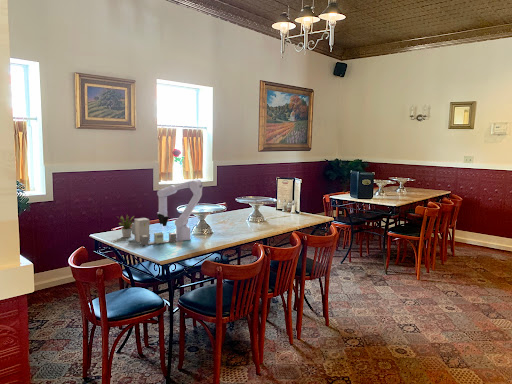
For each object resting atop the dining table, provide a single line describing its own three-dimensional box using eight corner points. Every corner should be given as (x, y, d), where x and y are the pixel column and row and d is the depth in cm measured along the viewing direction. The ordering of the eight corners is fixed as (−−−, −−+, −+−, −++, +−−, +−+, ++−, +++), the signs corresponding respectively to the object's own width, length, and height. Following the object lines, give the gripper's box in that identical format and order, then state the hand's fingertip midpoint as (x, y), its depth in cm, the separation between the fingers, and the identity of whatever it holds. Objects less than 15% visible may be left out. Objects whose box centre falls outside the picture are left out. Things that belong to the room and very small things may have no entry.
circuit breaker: (141, 236, 277) (140, 216, 275) (150, 240, 266) (149, 219, 264) (130, 238, 272) (130, 217, 270) (139, 242, 261) (139, 220, 259)
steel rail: (175, 240, 268) (175, 239, 268) (177, 242, 264) (177, 240, 264) (140, 244, 256) (140, 243, 256) (141, 245, 253) (141, 244, 253)
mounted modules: (173, 239, 268) (173, 232, 267) (176, 241, 263) (176, 233, 263) (141, 242, 257) (141, 235, 256) (143, 244, 253) (142, 236, 252)
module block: (161, 241, 263) (161, 232, 262) (163, 242, 259) (163, 233, 258) (154, 241, 261) (154, 233, 260) (156, 243, 257) (155, 234, 256)
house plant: (112, 239, 267) (112, 216, 265) (116, 235, 281) (115, 212, 279) (134, 239, 270) (133, 216, 268) (136, 234, 283) (136, 212, 281)
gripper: (154, 204, 276) (154, 223, 278) (160, 207, 264) (160, 227, 265) (164, 204, 280) (164, 222, 281) (170, 207, 267) (170, 226, 269)
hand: (163, 225), depth 274 cm, fingers open, 7 cm apart
